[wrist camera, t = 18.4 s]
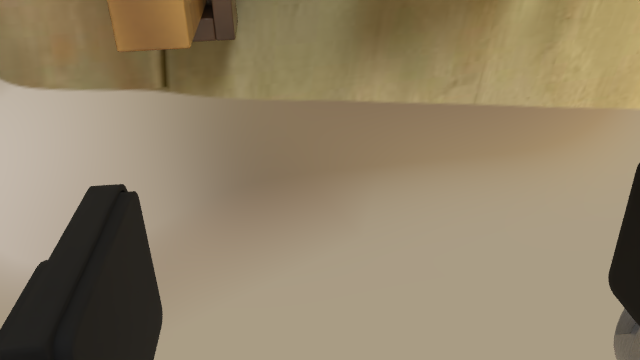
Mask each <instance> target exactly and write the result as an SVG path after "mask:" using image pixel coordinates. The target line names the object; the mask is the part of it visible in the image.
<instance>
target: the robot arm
mask: <svg viewBox="0 0 640 360" xmlns="http://www.w3.org/2000/svg"><path fill="white" fill-rule="evenodd" d="M609 285H610V288H611V290H612V292H613V294H614V295H615V296H616V297H617V299H618V300H619V301H620V303H621V304H622V305H623V306H624V308H625V309H626V310H627V311H628V313H629V314H630V315H631V316H632V318H633V319H634V320H635V321H636V323H637V324H638V325H639V326H640V163H639V165H638V167H637V170H636V173H635V177H634V181H633V184H632V189H631V192H630V196H629V200H628V204H627V207H626V211H625V215H624V218H623V222H622V226H621V230H620V233H619V237H618V241H617V245H616V249H615V252H614V256H613V260H612V264H611V267H610V271H609ZM161 325H162V305H161V301H160V296H159V291H158V286H157V282H156V277H155V272H154V267H153V263H152V258H151V253H150V248H149V244H148V239H147V234H146V229H145V225H144V220H143V216H142V211H141V206H140V201H139V197H138V194H137V193H136V192H135V191H133V192H128V191H127V189H126V187H125V186H124V185H123V184H120V185H103V186H91V187H90V188H89V189H88V191H87V192H86V194H85V196H84V198H83V199H82V201H81V203H80V205H79V206H78V208H77V210H76V212H75V213H74V215H73V217H72V219H71V221H70V222H69V224H68V226H67V228H66V229H65V231H64V233H63V235H62V236H61V238H60V240H59V242H58V244H57V246H56V247H55V249H54V251H53V253H52V254H51V256H50V258H49V260H45V261H43V262H41V263H40V264H39V265H38V266H37V268H36V269H35V271H34V273H33V275H32V276H31V278H30V280H29V282H28V283H27V285H26V287H25V288H24V290H23V292H22V293H21V295H20V297H19V299H18V300H17V302H16V304H15V306H14V307H13V309H12V310H11V312H10V314H9V316H8V317H7V319H6V321H5V322H4V324H3V326H2V328H1V329H0V360H153V359H154V355H155V351H156V347H157V343H158V339H159V334H160V330H161Z"/></svg>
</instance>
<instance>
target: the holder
mask: <svg viewBox="0 0 640 360" xmlns="http://www.w3.org/2000/svg"><path fill="white" fill-rule="evenodd" d="M237 23H238V20H237V9H236V0H207V2H206V5H205V8H204V11H203V14H202V16H201V19H200V22H199V25H198V27H197V30H196V33H195V36H194V38H193V41H192V42H196V41H214V40H234V39H235V37H236V30H237Z"/></svg>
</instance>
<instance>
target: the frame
mask: <svg viewBox="0 0 640 360" xmlns="http://www.w3.org/2000/svg"><path fill="white" fill-rule="evenodd" d="M206 2H207V0H107V3H108V8H109V13H110V17H111V22H112V27H113V32H114V37H115V42H116V46H117V50H118V52H128V51H146V50H165V49H184V48H190V47H191V44H192V41H193V38H194V36H195V33H196V30H197V27H198V25H199V22H200V19H201V16H202V14H203V11H204V8H205V5H206Z"/></svg>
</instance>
